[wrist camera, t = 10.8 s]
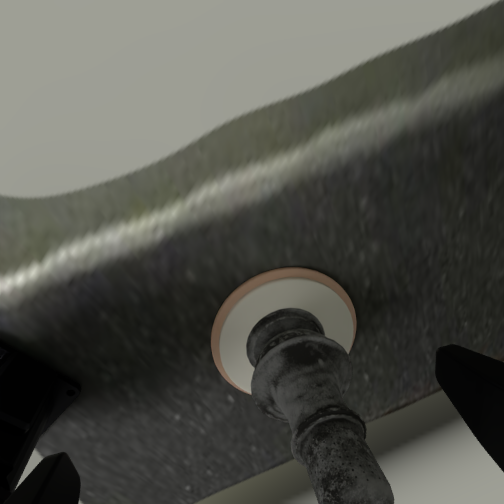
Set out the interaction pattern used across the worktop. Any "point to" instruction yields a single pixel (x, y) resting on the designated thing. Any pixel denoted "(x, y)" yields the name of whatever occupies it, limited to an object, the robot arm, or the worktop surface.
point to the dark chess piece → (315, 406)
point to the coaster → (272, 299)
